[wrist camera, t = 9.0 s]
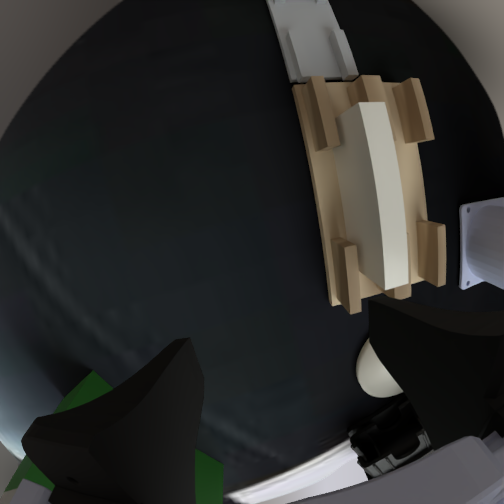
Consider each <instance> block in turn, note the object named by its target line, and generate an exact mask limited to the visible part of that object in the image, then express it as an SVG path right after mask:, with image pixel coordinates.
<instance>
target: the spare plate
mask: <svg viewBox="0 0 504 504" xmlns="http://www.w3.org/2000/svg"><path fill="white" fill-rule="evenodd" d="M356 376H357V379H358V381H359V383H360V385H361V387H362V388H363V390H364V391H365V392H366V393H368V394H369V395H371V396H374V397H390V396H394V395H397V394H399V393H402V392H403V390H402V389H401V388H400V387H399V385H398V384H397V383H396V381H395V380H394V379H393V377H392V376H391V375H390V374H389V372H388V371H387V370H386V368H385V367H384V366H383V364H382V363H381V362H380V360H379V359H378V357H377V355H376V354H375V352H374V350H373V348H372V346H371V344H370V342H369V338H368V340H367V341H366V342H365V344H364V346H363V347H362V349H361V351H360V353H359V356H358V359H357V363H356Z"/></svg>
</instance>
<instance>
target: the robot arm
mask: <svg viewBox="0 0 504 504" xmlns="http://www.w3.org/2000/svg"><path fill="white" fill-rule="evenodd" d="M459 215H460V282H459V287H460V288H461V289H466V288H469V287H471V286H473V285H475V284H478V283H480V282H482V281H487V282H489V283H491V284H493V285H495V286H498V287H500V288H502V289H504V197H501V198H495V199H490V200H485V201H479V202H474V203H469V204H463V205H461V206H460V208H459ZM466 283H467V284H466ZM368 307H369V342H370V344H371V346H372V348H373V350H374V352H375V354H376V355H377V357H378V359H379V360H380V362H381V363H382V364H383V366H384V367H385V368H386V370H387V371H388V372H389V374H390V375H391V376H392V377H393V379H394V380H395V381H396V383H397V384H398V385H399V387H400V388H401V389H402V390H403V392H404V393H405V395H406V396H407V398H408V399H409V400H410V402H411V404H412V406H413V408H414V409H415V411H416V413H417V415H418V417H419V419H420V421H421V423H422V425H423V427H424V429H425V431H426V433H427V436H428V438H429V440H430V443H431V445H432V448H433V450H434V452H432V453H430V454H428V455H426V456H424V457H422V458H420V459H418V460H416V461H414V462H412V463H410V464H408V465H405V466H403V467H401V468H399V469H396V470H394V471H391V472H389V473H387V474H384V475H381V476H379V477H376V478H373V479H371V480H368V481H365V482H362V483H359V484H356V485H353V486H350V487H347V488H343V489H340V490H336V491H333V492H329V493H325V494H321V495H317V496H313V497H308V498H305V499H302V500H298V501H295V502H291V503H287V504H504V311H497V312H461V311H451V310H444V309H439V308H433V307H429V306H424V305H420V304H416V303H412V302H408V301H404V300H400V299H396V298H392V297H387V296H379V297H375V298H372V299H368ZM203 399H204V376H203V374H202V371H201V368H200V365H199V362H198V360H197V357H196V354H195V351H194V348H193V345H192V342H191V339H190V338H183V339H176V340H174V341H173V342H172V343H170V344H169V345H168V346H167V347H166V348H165V349H163V350H162V351H161V352H160V353H159V354H158V355H157V356H156V357H155V358H153V359H152V360H151V361H150V362H149V363H148V364H147V365H145V366H144V367H143V368H142V369H141V370H139V371H138V372H137V373H136V374H134V375H133V376H132V377H131V378H129V379H128V380H126V381H125V382H123V383H122V384H120V385H119V386H117V387H116V388H114V389H113V390H111V391H109V392H107V393H105V394H103V395H101V396H100V397H98V398H96V399H94V400H92V401H90V402H87V403H85V404H82V405H80V406H77V407H75V408H72V409H69V410H66V411H63V412H59V413H55V414H51V415H47V416H42V417H37V418H36V419H35V420H34V422H33V423H32V425H31V426H30V427H29V429H28V430H27V432H26V433H25V434H24V436H23V437H22V440H21V443H22V446H23V449H24V451H25V453H26V455H27V456H28V457H29V459H30V460H31V461H32V462H33V463H34V464H35V466H36V467H37V468H38V469H39V470H40V471H41V472H42V473H43V474H44V475H45V476H46V477H47V478H48V479H49V480H50V481H51V482H52V483H53V484H54V485H55V487H54V489H53V491H51V490H49V489H48V488H46V487H44V486H42V485H39V484H37V483H34V482H32V481H30V480H27V479H22V481H21V483H20V485H19V487H18V488H17V490H16V492H15V494H14V496H13V498H12V500H11V502H10V503H9V504H196V494H195V449H196V440H197V435H198V429H199V423H200V417H201V411H202V405H203Z"/></svg>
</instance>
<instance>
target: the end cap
mask: <svg viewBox="0 0 504 504" xmlns="http://www.w3.org/2000/svg"><path fill="white" fill-rule="evenodd" d="M347 432H348V435H349V436H350V437H351V438H350V442H351V444H352V445H351V448H352V449H353V450H354V451H355V452H356V453H357V455H358V457H357V458H358V461H357V463H358V464H359V465H360V466H361V467H362V468H363V469H364V471H365V473H366V476H367V478H368V480H371V479H373V478H376V477H379V476H381V475H384V474H387V473H389V472H391V471H394V470H396V469H399V468H401V467H403V466H405V465H408V464H410V463H412V462H414V461H416V460H418V459H420V458H422V457H424V456H426V455H428V454H430V453H432V452H433V451H434V450H433V448H432V445H431V443H430V440H429V438H428V436H427V433H426V431H425V429H424V427H423V425H422V423H421V421H420V419H419V417H418V415H417V413H416V411H415V409H414V408H413V406H412V404H411V402H410V400H409V399H408V398H407V396H406V395H405V393H403V394H401V395H400V396H399V397H397V398H396V399H394V400H393V401H391V402H390V403H388V404H387V405H385V406H384V407H382V408H381V409H379V410H378V411H376V412H374V413H373V414H371V415H370V416H368V417H366V418H365V419H363V420H361V421H360V422H358V423H356V424H355V425H353V426H351V427H350V428H348V430H347Z"/></svg>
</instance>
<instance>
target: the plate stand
mask: <svg viewBox="0 0 504 504" xmlns="http://www.w3.org/2000/svg"><path fill="white" fill-rule="evenodd" d="M266 2H267V5H268V8H269V11H270V15H271V18H272V21H273V24H274V27H275V30H276V34H277V37H278V40H279V44H280V47H281V51H282V54H283V58H284V61H285V65H286V68H287V72H288V76H289V80H290V83H292V82H298V83H304V82H307V81H308V80H309V78H310V77H311V76H324V79H325V80H343V81H344V80H354V79H355V78H356V77H357V76H358V75H359V74H358V71H357V68H356V65H355V62H354V59H353V56H352V53H351V50H350V47H349V44H348V41H347V39H346V36H345V33H344V31H343V30H340V28H339V25H338V23H337V20H336V18H335V16H334V13H333V11H332V8H331V6H330V4H329V1H328V0H266Z"/></svg>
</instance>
